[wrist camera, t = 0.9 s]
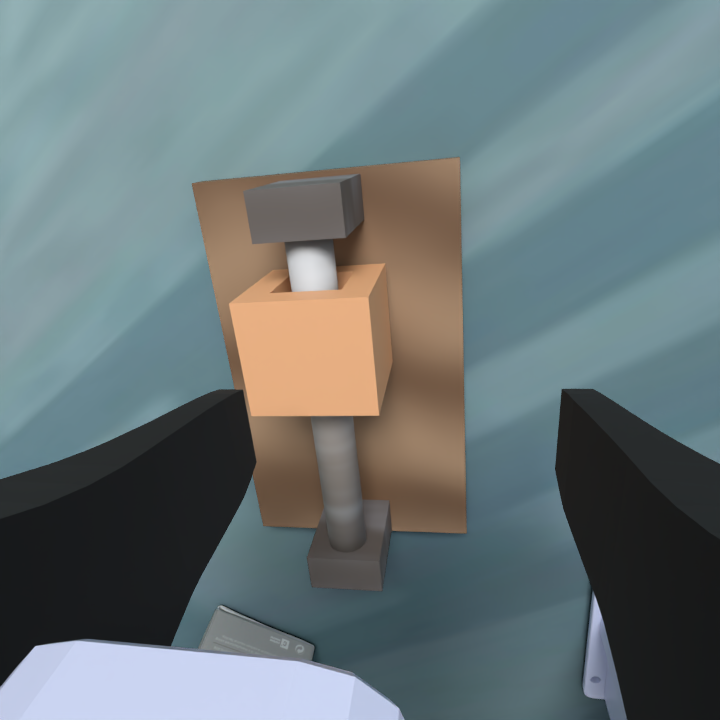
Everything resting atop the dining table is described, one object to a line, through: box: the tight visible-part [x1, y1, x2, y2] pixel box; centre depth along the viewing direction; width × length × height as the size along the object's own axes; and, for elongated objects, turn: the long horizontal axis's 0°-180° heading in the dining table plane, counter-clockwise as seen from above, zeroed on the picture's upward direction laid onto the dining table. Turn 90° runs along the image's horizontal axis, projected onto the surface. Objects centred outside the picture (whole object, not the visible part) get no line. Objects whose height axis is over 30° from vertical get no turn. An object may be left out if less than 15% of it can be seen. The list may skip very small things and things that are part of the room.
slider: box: [229, 263, 393, 416], centre depth 18 cm, size 4×4×4 cm
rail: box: [192, 157, 467, 591], centre depth 21 cm, size 16×10×5 cm, turn 5°
